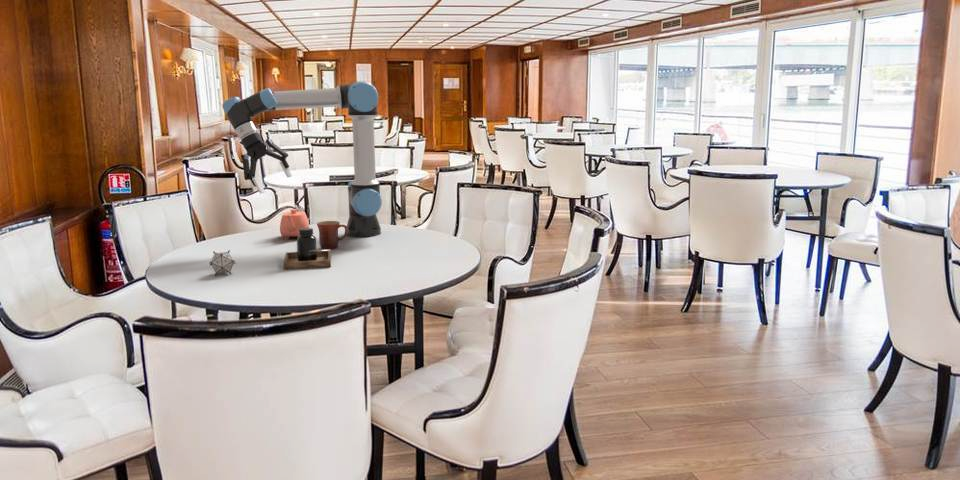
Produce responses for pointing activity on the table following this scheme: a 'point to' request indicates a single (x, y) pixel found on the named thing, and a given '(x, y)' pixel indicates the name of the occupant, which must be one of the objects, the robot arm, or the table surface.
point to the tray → (321, 261)
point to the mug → (330, 234)
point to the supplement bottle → (306, 245)
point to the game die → (222, 262)
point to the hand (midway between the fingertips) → (276, 184)
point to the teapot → (293, 223)
